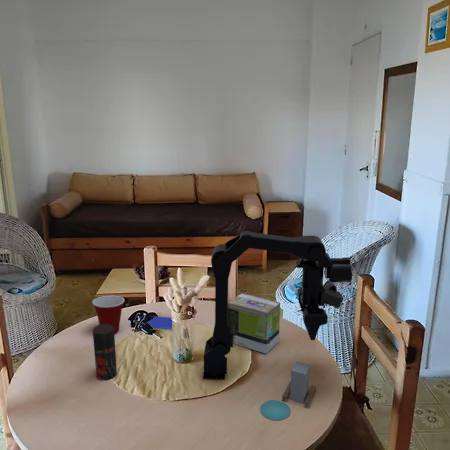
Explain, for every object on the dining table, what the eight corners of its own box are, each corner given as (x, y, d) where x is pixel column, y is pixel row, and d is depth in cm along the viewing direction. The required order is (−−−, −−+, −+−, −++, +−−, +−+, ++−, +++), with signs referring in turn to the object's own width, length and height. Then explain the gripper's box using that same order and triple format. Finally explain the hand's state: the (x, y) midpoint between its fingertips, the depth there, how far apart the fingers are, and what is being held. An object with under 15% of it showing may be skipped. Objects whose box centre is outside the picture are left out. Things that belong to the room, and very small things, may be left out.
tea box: (279, 341, 156) (281, 301, 152) (265, 355, 147) (267, 313, 143) (241, 329, 163) (242, 291, 159) (226, 342, 155) (226, 301, 151)
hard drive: (138, 326, 163) (173, 328, 162) (144, 315, 171) (177, 317, 170) (138, 329, 164) (173, 331, 163) (144, 319, 172) (177, 321, 170)
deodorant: (120, 374, 137) (118, 328, 133) (103, 383, 132) (100, 336, 128) (109, 366, 140) (106, 322, 136) (92, 374, 136) (88, 329, 132)
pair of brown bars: (282, 400, 125) (282, 396, 125) (290, 384, 132) (290, 380, 132) (308, 408, 122) (309, 403, 122) (315, 391, 129) (316, 386, 129)
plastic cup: (131, 325, 166) (129, 295, 162) (117, 340, 155) (115, 308, 152) (103, 322, 168) (101, 291, 165) (88, 336, 158) (86, 304, 154)
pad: (260, 420, 118) (260, 419, 118) (259, 400, 125) (259, 399, 125) (292, 420, 117) (292, 420, 117) (288, 400, 125) (288, 400, 125)
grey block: (289, 399, 126) (291, 370, 123) (294, 389, 130) (296, 361, 128) (304, 403, 124) (305, 374, 122) (308, 392, 129) (310, 364, 126)
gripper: (348, 295, 119) (345, 349, 123) (335, 269, 137) (333, 317, 141) (305, 295, 119) (303, 348, 123) (297, 269, 137) (296, 316, 141)
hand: (310, 331), depth 132 cm, fingers open, 9 cm apart
